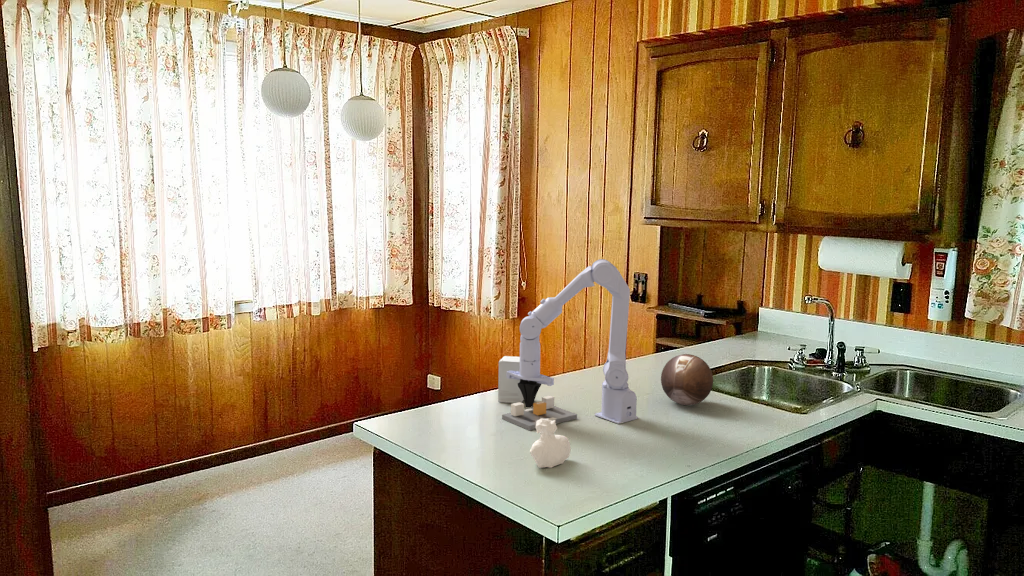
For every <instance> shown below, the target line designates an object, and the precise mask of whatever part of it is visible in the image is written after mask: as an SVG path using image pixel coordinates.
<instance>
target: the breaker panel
mask: <svg viewBox="0 0 1024 576" xmlns="http://www.w3.org/2000/svg"><path fill="white" fill-rule="evenodd" d="M541 401H542V402H545V403H546V414H542V415H535V414H533V407H530V408H527V409H525V403H523V402H522V403H521V402H518V403H510V412H508V413H503V414H502V415H501V419H502V420H504V421H507V422H508V421H509V423H511V424H514V425H516V426H518V427H520V428H523V429H525V430H528V431H532V430H536V428H535V427H536V421H537V420H539V419H541V418H543V419H548V418H549V420H551V421H553V420H556V421H555V423H556V425H557V424H560V423H565V422H568V421H573V420H576V419H578V414H577V413H575V412H572V411H570V410H566V409H563V408H561V407H559V406H555V397H554V396H552V395H546V396H541Z"/></svg>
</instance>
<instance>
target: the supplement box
mask: <svg viewBox="0 0 1024 576" xmlns="http://www.w3.org/2000/svg"><path fill="white" fill-rule="evenodd" d="M510 370H511V371H520V356H509V355H504V356H503V357H502V358H500V359H499V361H498V374H497V375H498V380H497V381H498V383H497V384H498V386H497V387H498V391H497V399H498V400H497V402H498V403H507V404H508V403H510V404H513V403H518V402H521V403H523V402H524V398H523V395H522V393H521V391H520V389H519V387H518V383H519V382H520V380H517V379H512V378H510V379H508V378H506V372H507V371H510Z"/></svg>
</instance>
